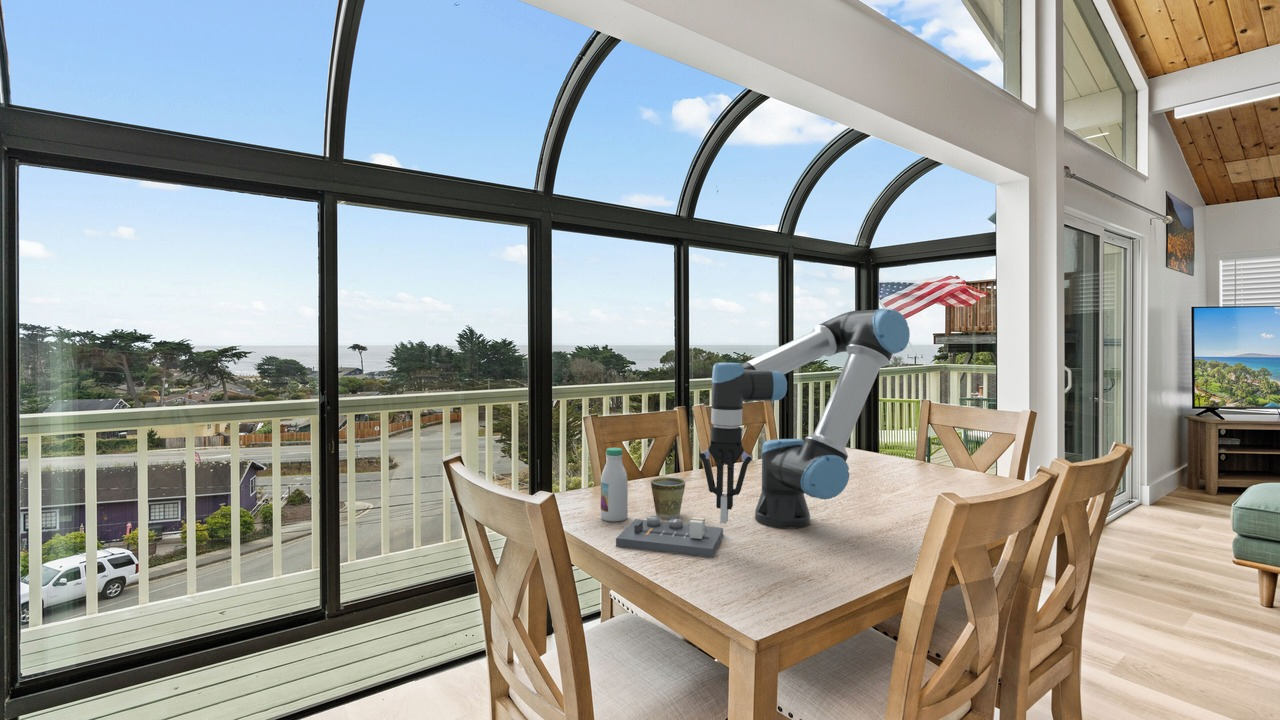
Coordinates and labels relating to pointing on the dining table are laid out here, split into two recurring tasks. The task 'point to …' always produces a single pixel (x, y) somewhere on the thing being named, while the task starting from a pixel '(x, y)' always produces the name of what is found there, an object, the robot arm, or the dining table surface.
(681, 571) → the dining table surface
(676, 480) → the ceramic cup
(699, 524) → the fader cap
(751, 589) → the dining table surface
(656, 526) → the console
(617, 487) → the milk bottle
